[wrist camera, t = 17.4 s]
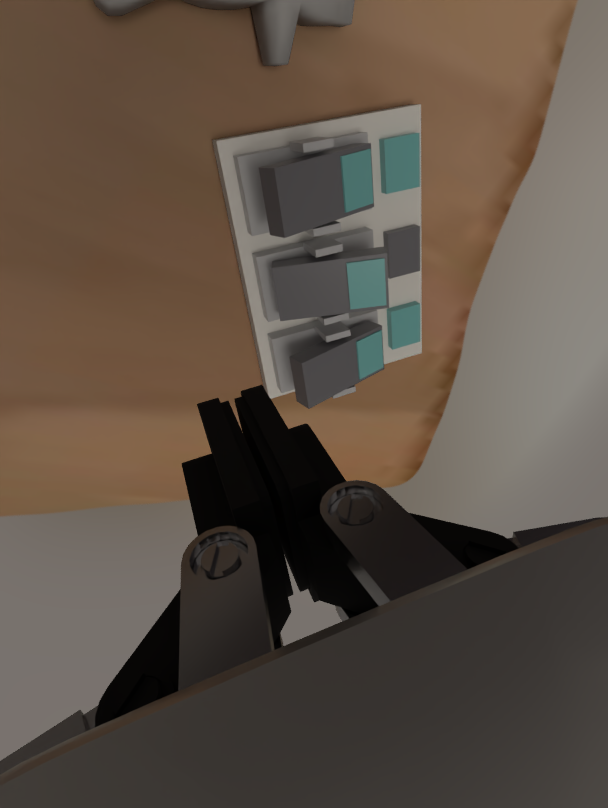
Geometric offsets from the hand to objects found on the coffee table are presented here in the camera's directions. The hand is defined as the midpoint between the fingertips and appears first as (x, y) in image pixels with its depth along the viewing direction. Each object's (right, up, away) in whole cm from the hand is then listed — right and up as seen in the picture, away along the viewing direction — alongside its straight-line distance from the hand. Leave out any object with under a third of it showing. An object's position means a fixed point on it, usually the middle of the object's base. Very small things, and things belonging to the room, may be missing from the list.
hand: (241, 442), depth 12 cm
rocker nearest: (+3, +15, +19) cm, 25 cm away
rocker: (+4, +4, +27) cm, 27 cm away
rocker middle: (+4, +10, +23) cm, 25 cm away
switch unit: (+4, +13, +28) cm, 30 cm away
